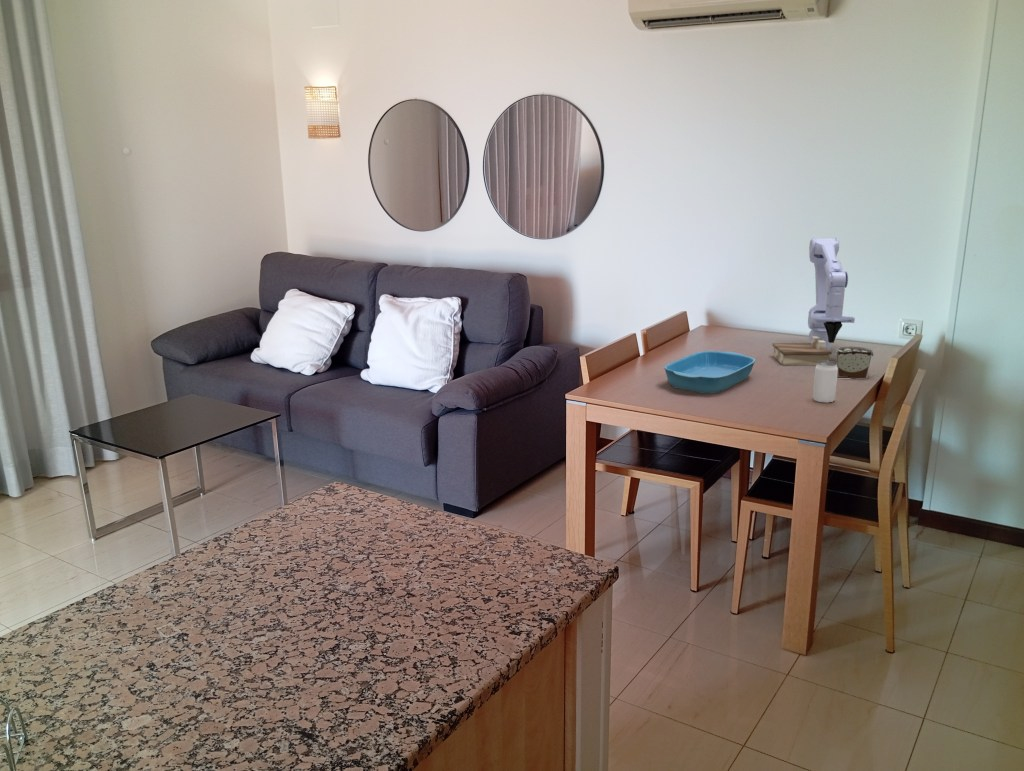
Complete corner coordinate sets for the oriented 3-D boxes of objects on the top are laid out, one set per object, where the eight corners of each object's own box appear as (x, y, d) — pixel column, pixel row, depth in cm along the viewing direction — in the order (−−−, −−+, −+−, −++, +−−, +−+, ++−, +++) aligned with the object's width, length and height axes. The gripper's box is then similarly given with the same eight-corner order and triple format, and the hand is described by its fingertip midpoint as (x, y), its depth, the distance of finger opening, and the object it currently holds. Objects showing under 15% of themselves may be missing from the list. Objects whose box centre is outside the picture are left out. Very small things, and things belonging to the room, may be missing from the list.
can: (809, 397, 253) (812, 360, 250) (829, 396, 254) (832, 360, 250) (818, 403, 247) (821, 365, 244) (838, 402, 247) (842, 365, 244)
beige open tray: (773, 358, 302) (774, 346, 300) (816, 358, 301) (817, 346, 300) (783, 367, 289) (784, 355, 288) (828, 367, 289) (829, 354, 287)
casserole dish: (714, 400, 252) (715, 379, 250) (652, 389, 266) (653, 368, 264) (763, 376, 279) (765, 356, 277) (705, 366, 293) (706, 347, 291)
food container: (865, 374, 279) (868, 346, 276) (870, 378, 273) (874, 350, 270) (828, 373, 280) (831, 345, 277) (833, 378, 274) (836, 350, 271)
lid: (772, 345, 301) (773, 335, 300) (818, 345, 300) (819, 335, 299) (783, 354, 287) (784, 343, 286) (831, 354, 287) (832, 343, 286)
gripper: (817, 307, 285) (814, 344, 289) (859, 307, 285) (855, 344, 288) (811, 303, 292) (808, 340, 296) (852, 303, 292) (848, 340, 295)
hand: (831, 342), depth 293 cm, fingers closed
